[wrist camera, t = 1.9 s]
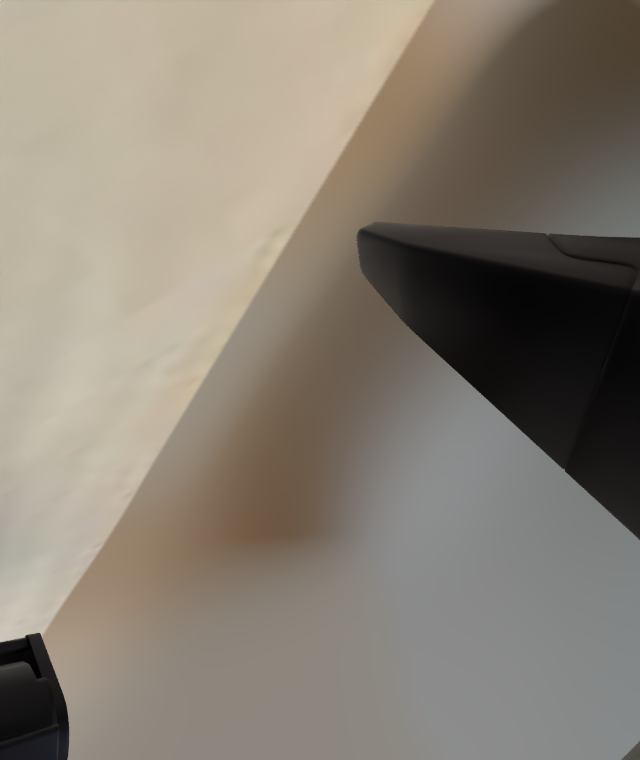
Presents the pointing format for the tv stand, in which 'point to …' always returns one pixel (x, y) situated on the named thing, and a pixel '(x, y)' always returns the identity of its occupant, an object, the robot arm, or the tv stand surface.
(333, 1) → the tv stand surface
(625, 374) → the robot arm
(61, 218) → the tv stand surface
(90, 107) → the tv stand surface
